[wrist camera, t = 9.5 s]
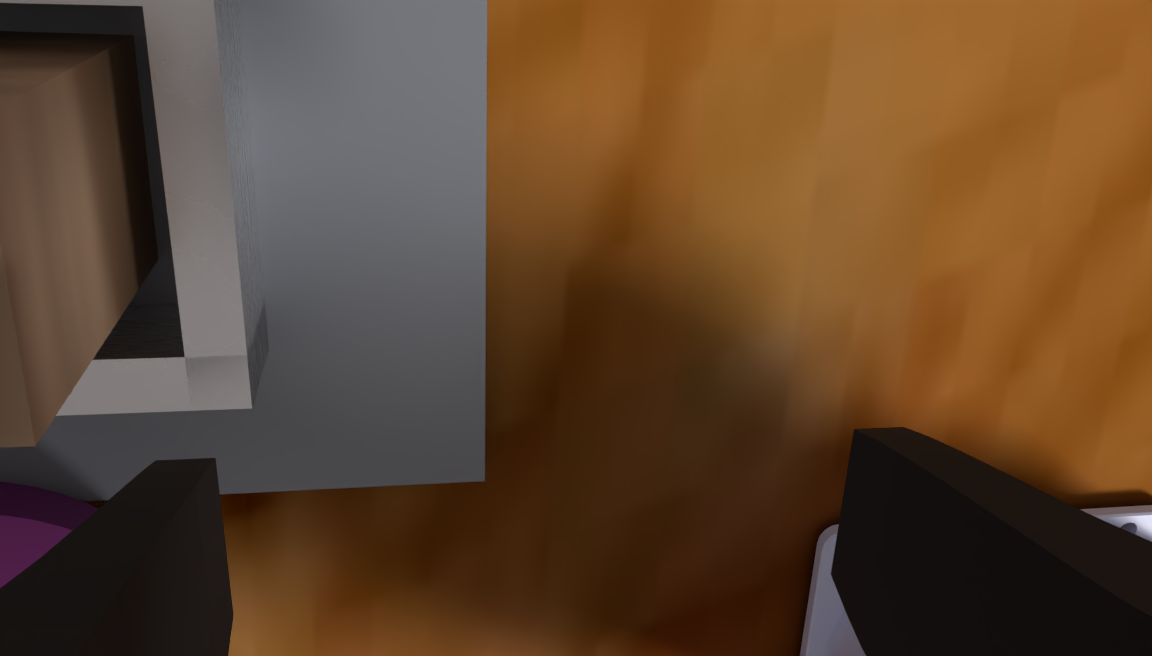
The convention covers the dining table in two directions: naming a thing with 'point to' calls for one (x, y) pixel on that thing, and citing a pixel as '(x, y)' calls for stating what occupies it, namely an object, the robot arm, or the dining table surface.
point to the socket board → (291, 249)
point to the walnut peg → (66, 214)
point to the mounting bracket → (34, 524)
